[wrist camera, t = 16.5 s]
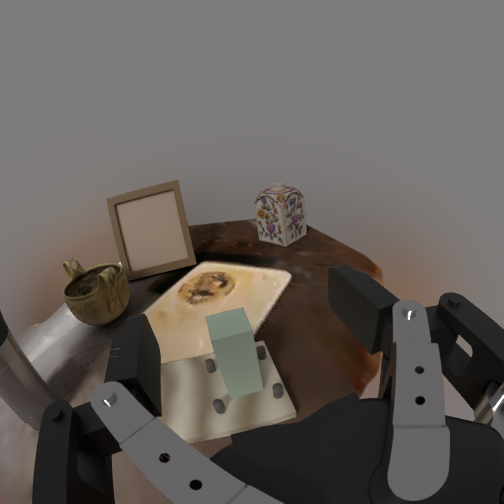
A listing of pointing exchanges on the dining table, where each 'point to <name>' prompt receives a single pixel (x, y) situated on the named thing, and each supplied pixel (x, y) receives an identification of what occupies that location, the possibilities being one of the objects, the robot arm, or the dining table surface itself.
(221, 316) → the green block
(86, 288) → the ceramic bowl
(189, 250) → the photo frame
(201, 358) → the peg board
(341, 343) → the dining table surface
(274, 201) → the decorative jar
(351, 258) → the dining table surface
